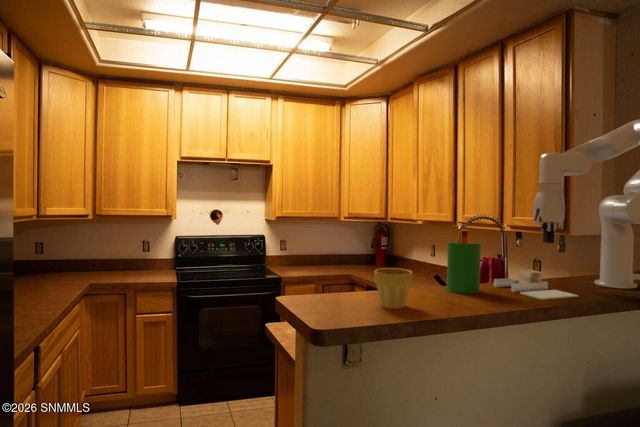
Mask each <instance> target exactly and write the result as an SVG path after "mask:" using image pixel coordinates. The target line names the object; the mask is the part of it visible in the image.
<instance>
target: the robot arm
mask: <svg viewBox="0 0 640 427" xmlns="http://www.w3.org/2000/svg"><path fill="white" fill-rule="evenodd" d="M638 146H640V118H639V119H635V120H632V121H630V122H628V123H626V124H623V125H622V126H620V127H618V128H616V129H613V130H612V131H610V132H607V133H606V134H603V135H601V136H598V137H596V138H594V139H592V140H589V141H587V142H585V143H583V144H580V145H577V146H575V147H573V148H570V149H567V150H565V151H564V152H561V153H560V152H548V153H547V152H546V153H542V154H541V155H540V158H539V169H538V170H539V171H538V191H537V193H536V195H535V198H534V203H533V208H532V209H533V210H532V220H533V221H534V222H535V225H536V226H539V227H540V228H541V231H543V232H542V242H543V243H544V244H554V243H555V232H556V231H557V228H559V227H561V226H563V222H565V218H566V217H565V216H566V203H565V194H564V189H565V187H564V178H565V177H568V176H569V177H570V176H580V175H584V174H586V173H587V172H588V171H590V169H591V167H592V164H593V163H597V162H599V163H600V162H604V161H608V160H611V159H614V158H617V157H619V156H620V155H623V154H624V153H626V152H628V151H630V150H632V149H634V148H636V147H638ZM598 214H599V219H600V227H601V230H600V231H601V232H600V235H601V237H600V266H599V278H598V279H597V278H596V279H595V280H594V284H595V285H596V286H600V287H606V288H613V289H624V290H625V289H627V290H628V289H629V290H630V289H637V288H638V283H636V282H634V281H635V280H636V281H637V280H638V281H639V280H640V274H639V273H634V272H633V266H634V265H633V262H634V240H635V238H634V236H635V235H634V230H633V227H632V225H631V224H635V225H639V224H640V169H638V171H637V172H636V173H635V174H633V176H632V177H631V178H630V179H629V180H627V181H626V183H625V184H624V186H623V194H616V195H614V194H613V195H610V196H609V195H608V196H607V197H605V198H603V200H602V201H601V202H600V204H599V207H598Z"/></svg>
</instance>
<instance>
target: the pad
mask: <svg viewBox="0 0 640 427" xmlns="http://www.w3.org/2000/svg"><path fill="white" fill-rule="evenodd" d="M519 293H520V295H524V296H527V297H530V298H535V299H538V300H543V301H545V300H555V299H557V300H558V299H567V298H579V295H578V294H574V293H570V292H567V291H562V290H558V289H548V290H534V291H520V292H519Z"/></svg>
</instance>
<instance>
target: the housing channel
mask: <svg viewBox="0 0 640 427" xmlns="http://www.w3.org/2000/svg"><path fill="white" fill-rule="evenodd" d="M493 287H494V288H504V287H506V288H507V287H511V288H510V291H511V292H512V293H520V292H529V291H543V290H549V289H548V288H549V282H548V281H542V282H528V283H519V277H509V278H494V279H493Z"/></svg>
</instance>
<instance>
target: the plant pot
mask: <svg viewBox="0 0 640 427" xmlns="http://www.w3.org/2000/svg"><path fill="white" fill-rule="evenodd" d="M373 275H374V279H373V280H374V284H375V285H376V287H377V288H376V289H377V292H378V297H379V303H380V307H383V308H385V309H390V310H391V309H392V310H397V309H403V308H405V307H406V302H407V299H408V295H409V291H410V286H411V285H412V284H413V281H414V280H413V277H414V276H413V275H414V273H413V271H412V270H410V269H405V268H399V267H398V268H397V267H396V268H395V267H390V268H389V267H386V268H385V267H383V268H377V269H375V270H374V274H373Z"/></svg>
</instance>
